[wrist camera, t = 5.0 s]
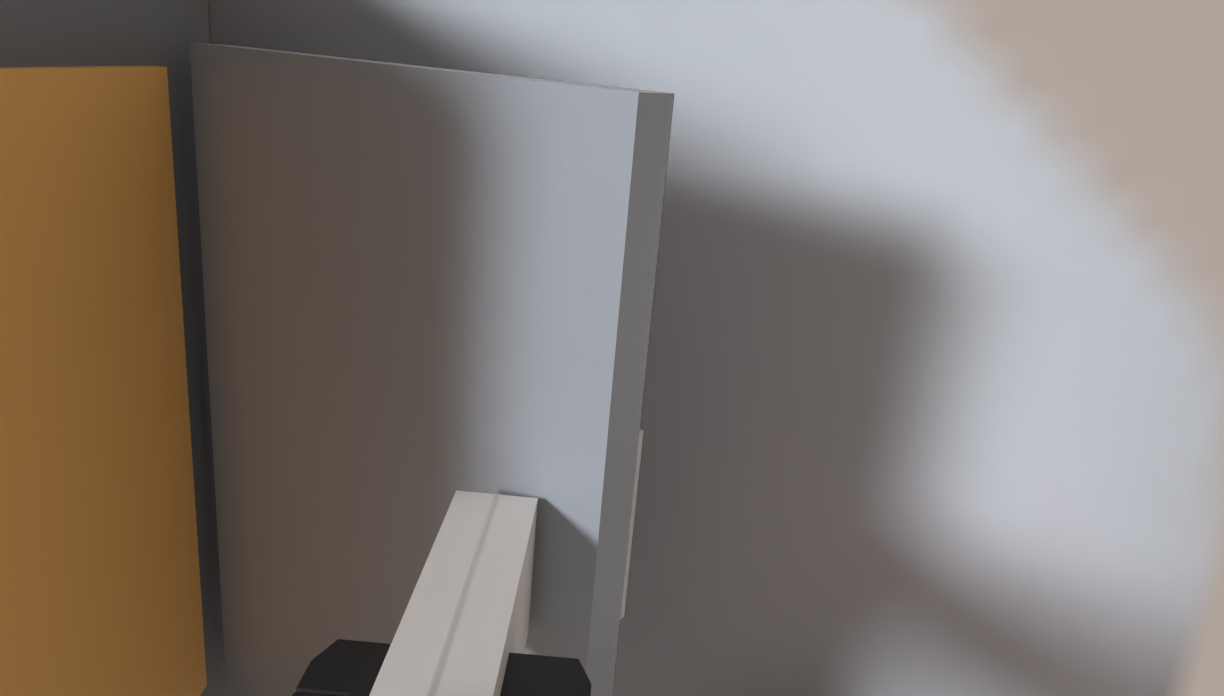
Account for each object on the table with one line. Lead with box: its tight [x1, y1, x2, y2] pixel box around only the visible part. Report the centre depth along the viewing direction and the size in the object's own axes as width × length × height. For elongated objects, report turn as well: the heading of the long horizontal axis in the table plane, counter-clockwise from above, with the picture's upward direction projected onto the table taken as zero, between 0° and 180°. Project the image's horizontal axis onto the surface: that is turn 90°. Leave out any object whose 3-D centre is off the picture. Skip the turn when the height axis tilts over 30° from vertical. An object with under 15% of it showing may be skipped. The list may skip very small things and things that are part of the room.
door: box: [190, 42, 674, 696], centre depth 19 cm, size 2×16×11 cm
